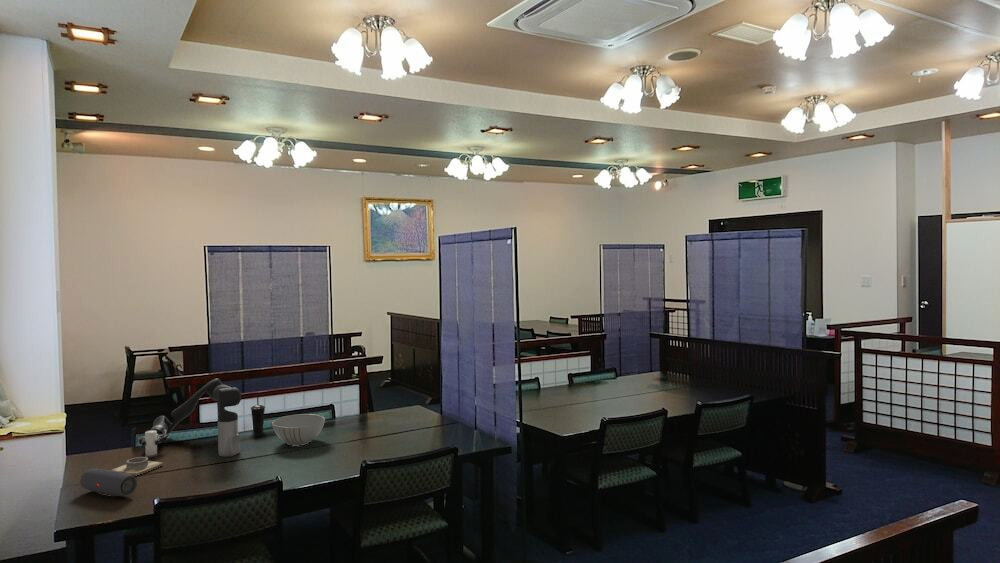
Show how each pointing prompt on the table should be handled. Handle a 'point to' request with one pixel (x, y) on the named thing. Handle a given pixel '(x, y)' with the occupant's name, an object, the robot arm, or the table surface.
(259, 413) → the drinking cup
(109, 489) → the bluetooth speaker
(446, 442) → the table surface
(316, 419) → the decorative bowl
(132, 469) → the duct base
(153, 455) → the duct sleeve
